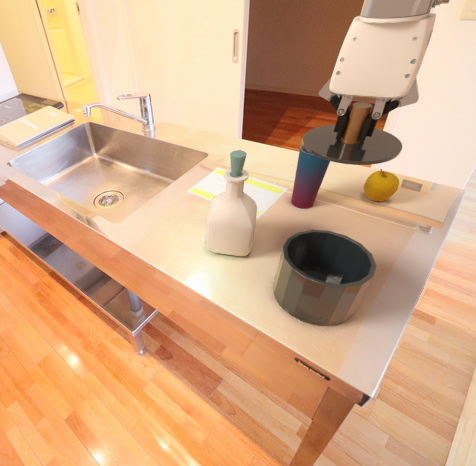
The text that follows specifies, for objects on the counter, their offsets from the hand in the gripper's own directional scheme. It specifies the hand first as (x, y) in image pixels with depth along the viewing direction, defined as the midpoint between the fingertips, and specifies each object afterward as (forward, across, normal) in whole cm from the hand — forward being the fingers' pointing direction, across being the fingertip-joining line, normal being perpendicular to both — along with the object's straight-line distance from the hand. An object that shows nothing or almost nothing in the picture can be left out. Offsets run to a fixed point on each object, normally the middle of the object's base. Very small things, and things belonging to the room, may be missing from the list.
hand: (351, 137), depth 53 cm
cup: (+25, +7, -15) cm, 30 cm away
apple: (+25, -8, -24) cm, 35 cm away
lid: (+1, 0, 0) cm, 1 cm away
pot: (+25, -3, +14) cm, 29 cm away
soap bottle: (+25, +16, +8) cm, 31 cm away
